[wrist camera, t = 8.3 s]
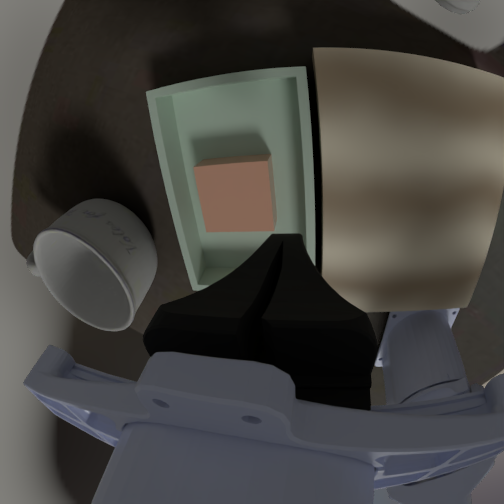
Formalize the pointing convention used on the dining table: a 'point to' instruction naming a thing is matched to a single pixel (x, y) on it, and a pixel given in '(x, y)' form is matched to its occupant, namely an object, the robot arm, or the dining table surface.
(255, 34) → the dining table surface
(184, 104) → the box
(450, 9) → the rook chess piece
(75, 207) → the teacup
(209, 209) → the tile
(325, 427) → the robot arm
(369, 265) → the beige banded block
